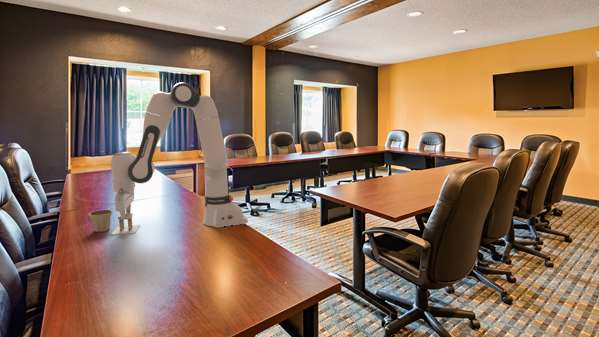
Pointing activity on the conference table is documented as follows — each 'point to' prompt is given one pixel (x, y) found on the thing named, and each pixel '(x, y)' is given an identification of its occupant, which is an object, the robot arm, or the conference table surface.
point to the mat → (125, 230)
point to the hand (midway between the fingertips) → (126, 215)
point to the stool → (128, 216)
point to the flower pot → (101, 220)
